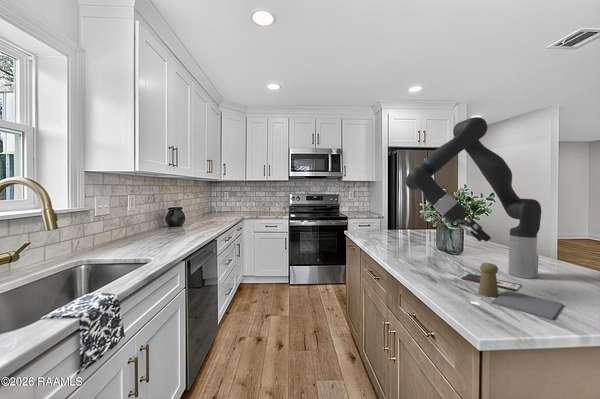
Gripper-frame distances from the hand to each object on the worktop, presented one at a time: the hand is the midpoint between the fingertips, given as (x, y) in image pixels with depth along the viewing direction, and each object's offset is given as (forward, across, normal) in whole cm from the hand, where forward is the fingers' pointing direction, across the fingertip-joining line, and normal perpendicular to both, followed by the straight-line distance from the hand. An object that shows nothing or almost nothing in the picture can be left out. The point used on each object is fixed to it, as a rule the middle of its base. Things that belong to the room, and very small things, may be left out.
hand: (485, 239), depth 101 cm
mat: (+21, -5, +7) cm, 23 cm away
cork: (+14, +1, +13) cm, 19 cm away
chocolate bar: (+16, +16, +9) cm, 24 cm away
